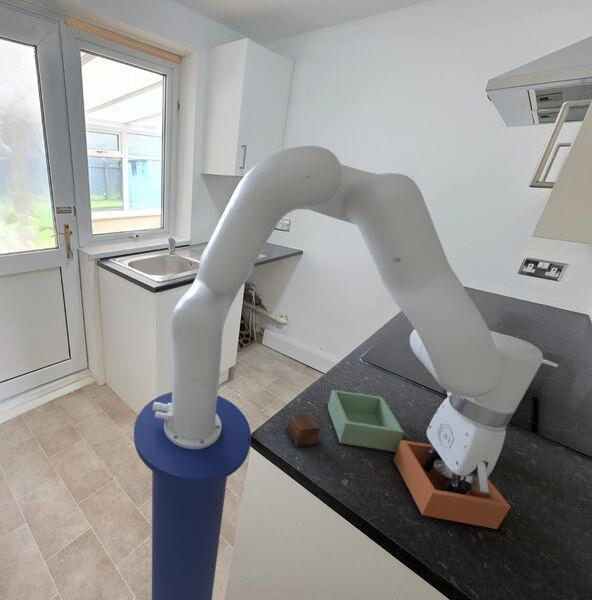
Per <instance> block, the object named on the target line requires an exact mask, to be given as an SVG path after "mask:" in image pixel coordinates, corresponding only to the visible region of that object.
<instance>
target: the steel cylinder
mask: <svg viewBox="0 0 592 600" xmlns="http://www.w3.org/2000/svg"><path fill="white" fill-rule="evenodd" d="M452 473H453V472H452V471H451V470H450V469H449V468H448V466H447V465H446V464H445V462H444V461H443V460H442V459H438V460H436V461H435V462H434V464H433V466H432V469H431V471H430V473H429V475H428V479H429V480H430V482H431V484H432V485H433V487H434V489H435V490H440V491H442V490H443V488H444V486H445V484H446V482H447V481H451V478H452ZM460 480H461V481H463V480H464V476H461V479H460Z"/></svg>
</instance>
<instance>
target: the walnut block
mask: <svg viewBox="0 0 592 600" xmlns="http://www.w3.org/2000/svg"><path fill="white" fill-rule="evenodd" d="M289 416H290V417H289V422H288V427H287V432H288V434H289V436H290V437H291V439H292V440H293V442H294V444H295V445H296V446H297V447H301V446H310V445H316V444H317V441H318V437H319V433H320V429H321V427H320V426H319V425H318V423H317V422H316V421H315V420H314V418H313V417H312V415H311V414H310V413H309V412H307V413H299V414H298V413H297V414H290V415H289Z"/></svg>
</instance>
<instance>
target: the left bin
mask: <svg viewBox="0 0 592 600" xmlns="http://www.w3.org/2000/svg"><path fill="white" fill-rule="evenodd" d="M327 410H328V413H329V416H330V418H331V422H332V424H333V428H334V430H335V433H336V436H337V438H338V441H339V442H338V443H340V444H344V445H351V446H357V447H363V448H370V449H374V450H375V449H376V450H382V451H387V452H395V453H396V452H397V450H398V447H399V445H400V442H401V440H403V437H404V434H405V431H404V430H403V428H402V426H401V425H400V423H399V421H398V420H397V418H396V416H395V415H394V413H393V412H392V410H391V409H390V407H389V405H388V404H387V402H386V400H385V399H384V397H383V396H379V395H371V394H364V393H358V392H351V391H344V390H335V389H331V393H330V396H329V400H328V404H327Z"/></svg>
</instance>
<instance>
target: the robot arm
mask: <svg viewBox="0 0 592 600" xmlns="http://www.w3.org/2000/svg"><path fill="white" fill-rule="evenodd" d="M296 210H308V211H311V212H315V213H318V214H320V215H323V216H326V217H330V218H333V219H336V220H339V221H342V222H346V223H349V224H352V225H355V226H357V228H358V230H359V232H360V234H361V236H362V239H363V241H364V243H365V245H366V247H367V250H368V252H369V254H370V256H371V258H372V261H373V263H374V267H375V268H376V271H377V272H378V273H377V274H378V275H379V277H380V280H381V282H382V284H383V286H384V288H385V290H386V291H387V293H388V295H389V296H390V298H391V299H392V301H393V302H395V305H397V307H398V308H399V310H401V312H402V313H403V314H404V316H406V318H407V320H408V321H409V323H410V324H411V325H412V327H413V328H414V329H413V330H412V332H411V333H410V335H409V345H410V348H411V350H412V352H413V354H414V355H415V356H416V358H417V359H418V360H419V361H420V362H421V363H422V365H423V366H424V367H425V368H426V369H427V371H428V372H429V373H430V374H431V376H432V377H433V379H435V381H436V382H437V383H438V384H439V385H440V386H441V387H442V388H443V389H444V390H445V391H446V392H447V391H448V392H450V393H452V395H451V396H447V397H446V398H445V399H444V400H443V402H442V403H441V404H440V405H439V407H438V408H437V410H436V411H435V413H434V415H433V417H432V419H431V420H430V422H429V425H428V427H427V429H426V437H427V440H428V441H429V442H430V445H431V446H430V447H429V452H430V453H431V454H430V453H429V455H428V458H427V460H426V462H425V464H424V467H423V469H424V470H425V471H426V472H430V471H431V469H432V466H433V464H434V462H435V461H436V460H438V459H442V460H443V461H444V462H445V464H446V465H447V466H448V468H449V469H450V470H451V471H452V472H453V473H452V478H451V481H447V482H446V484H445V486H444V488H443V490H442V491H446V492H452V493H457V494H463V495H466V493H467V491H468V490H470V491H473V492H476V493H479V494H484V495H488V494H489V490H488V481H487V478H489V476H490V475H491V473H492V471H493V470H494V468H495V466H496V464H497V462H498V459H499V457H500V454H501V452H502V449H503V447H504V443H505V438H506V434H507V431H506V429H507V427H508V425H509V424H510V421H511V420H512V418H513V416H514V414H515V413H516V410H517V408H518V407H519V405H520V403H521V402H522V400H523V398H524V396H525V394H526V392H527V390H528V389H529V387H530V385H531V383H532V381H533V379H534V378H535V376H536V374H537V373H538V370H539V369H540V367H541V365H542V364H543V363H542V360H543V359H544V355H543V353H542V351H541V350H540V348H539V347H537V346H536V345H534V344H532V343H530V342H528V341H527V340H524V339H522V338H518V337H515V336H512V335H509V334H508V335H507V334H503V333H500V334H496V333H490V331H491V330H490V329H489V327H488V325H487V323H486V321H485V319H484V317H483V316H482V314H481V312H480V311H479V309H478V308H477V306H476V304H475V303H474V301H473V300H472V299H471V297H470V295H469V294H468V292H467V290H466V289H465V287H464V285H463V284H462V281H461V280H460V279H459V277H458V276H457V274H456V273H455V272H454V270H453V268H452V267H451V264H450V262H449V260H448V258H447V256H446V255H447V254H446V253H445V250H444V247H443V245H442V242H441V240H440V237H439V234H438V232H437V230H436V227H435V223H434V222H433V219H432V217H431V214H430V211H429V209H428V206H427V203H426V200H425V198H424V196H423V193H422V191H421V189H420V186H419V185H418V184H417V183H416V181H415V180H414V179H412V178H411V177H409V176H408V175H405V174H403V173H397V172H395V173H394V172H387V173H386V172H385V173H374V172H370V171H366V170H362V169H358V168H355V167H352V166H348V165H345V164H342V163H341V162H340V160H339V158H338V157H337V156H336V154H335V153H334V152H333V151H331V150H329V149H327V148H325V147H322V146H319V145H318V146H317V145H301V146H300V145H299V146H293V147H290V148H286V149H282V150H279V151H276V152H274V153H272V154H270V155H268V156H265V158H262V159H261V160H259V162H257V163H256V164H255V165H253V166H252V167H251V168H250V169H249V170H248V171H247V173H246V174H245V175H244V176H243V178H242V179H241V180H240V182H239V183H238V185H237V187H236V188H235V190H234V192H233V194H232V196H231V197H230V200H229V202H228V204H227V205H226V207H225V210H224V211H223V213H222V215H221V217H220V218H219V221H218V223H217V225H216V227H215V229H214V231H213V233H212V235H211V237H210V239H209V241H208V242H207V245H206V247H205V248H204V250H203V252H202V253H201V256H200V260H199V264H198V265H199V266H198V268H199V269H198V271H197V274H196V275H195V278H194V280H193V282H192V284H191V286H190V288H189V289H188V290H187V291H186V292H185V293H184V294H183V295H182V296H181V298H180V299H179V300H178V301H177V303H176V304H175V307H174V309H173V311H172V314H171V318H170V333H171V338H172V382H171V383H172V385H171V392H172V403H168V404H162V403H159V402H154V403H153V411H158V412H156V413H155V418H158V419H165V420H164V431H165V434H166V436H167V437H168V438H169V440H170V441H172V442H173V443H174V444H176V445H178V446H180V447H183V448H187V449H202V448H205V447H208V446H210V445H212V444H213V443H215V442H216V441H217V439H218V438H219V436H220V434H221V427H222V424H221V420H220V418H219V417H218V415H217V414H216V405H217V395H218V393H219V384H220V383H219V382H220V372H221V362H222V345H223V344H222V342H223V332H224V327H225V322H226V320H227V318H228V314H229V312H230V310H231V307H232V305H233V303H234V301H235V299H236V297H237V296H238V294H239V293H240V290H241V288H242V286H243V285H244V284H245V283H246V282H247V281H248V280H249V278H250V277H251V275H252V273H253V270H254V266H255V264H256V262H257V260H258V258H259V257H260V254H261V252H262V251H263V249H264V247H265V246H266V243H267V242H268V240H269V239H270V238H271V235H272V234H273V232H274V230H275V229H276V226H277V225H278V224H279V223H280V221H281V220H282V219H283V218H284V217H285V216H287V215H288V214H289V213H290V214H291V212H293V211H296ZM218 396H219V395H218ZM162 412H166V413H162ZM461 476H466V481H461V480H460V479H461Z"/></svg>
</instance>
